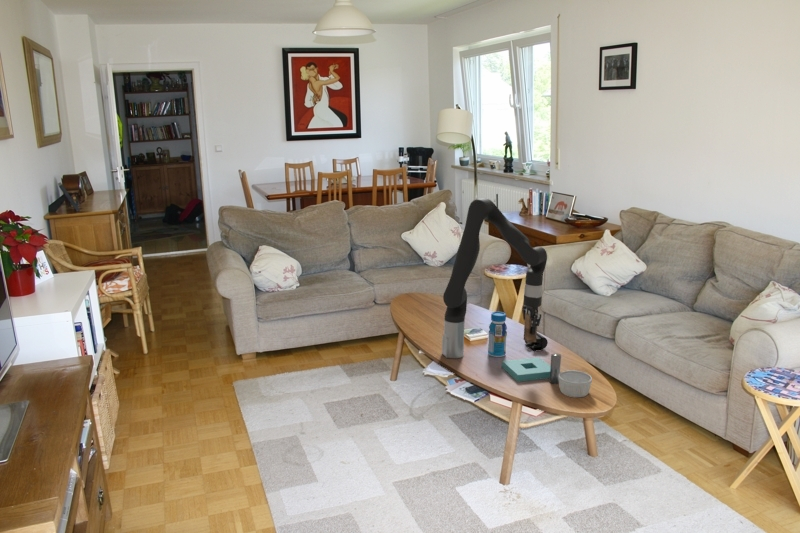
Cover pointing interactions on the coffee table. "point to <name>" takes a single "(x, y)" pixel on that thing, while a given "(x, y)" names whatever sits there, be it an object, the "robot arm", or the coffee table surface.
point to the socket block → (527, 369)
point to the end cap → (537, 343)
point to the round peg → (555, 368)
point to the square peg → (527, 335)
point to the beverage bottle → (497, 335)
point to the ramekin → (574, 383)
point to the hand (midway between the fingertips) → (530, 332)
